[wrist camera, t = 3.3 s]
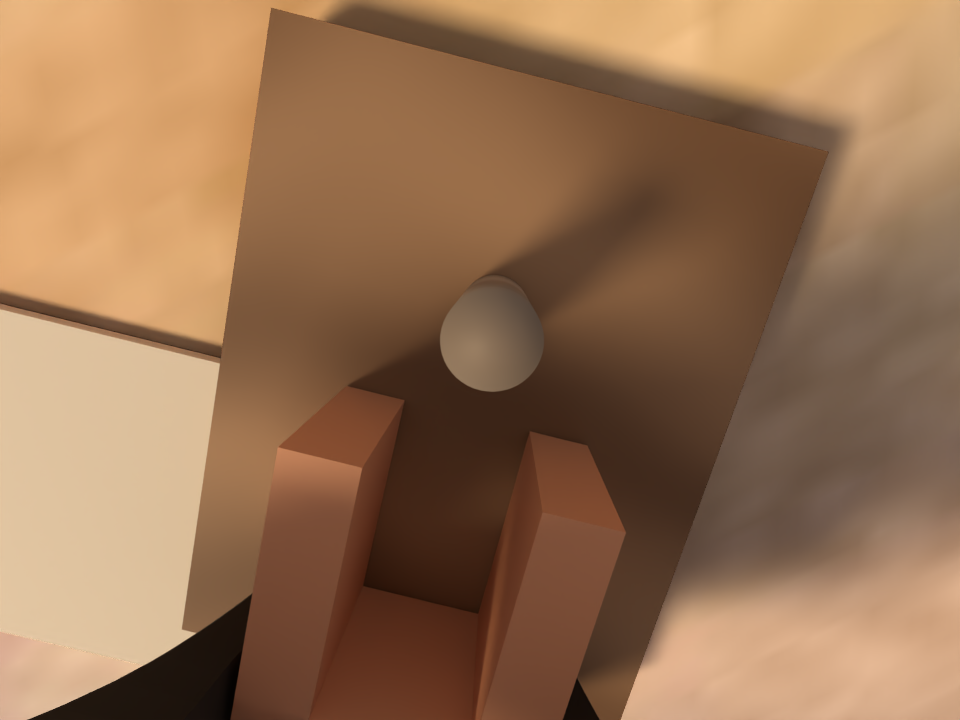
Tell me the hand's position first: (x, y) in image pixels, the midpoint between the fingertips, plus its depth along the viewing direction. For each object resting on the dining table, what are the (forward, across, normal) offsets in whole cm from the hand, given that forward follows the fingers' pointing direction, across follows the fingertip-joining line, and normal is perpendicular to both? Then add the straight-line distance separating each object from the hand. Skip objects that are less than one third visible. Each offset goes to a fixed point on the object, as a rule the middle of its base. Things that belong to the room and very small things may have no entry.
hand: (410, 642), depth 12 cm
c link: (0, 0, -3) cm, 3 cm away
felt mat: (+2, +10, 0) cm, 10 cm away
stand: (+2, 0, -6) cm, 6 cm away
